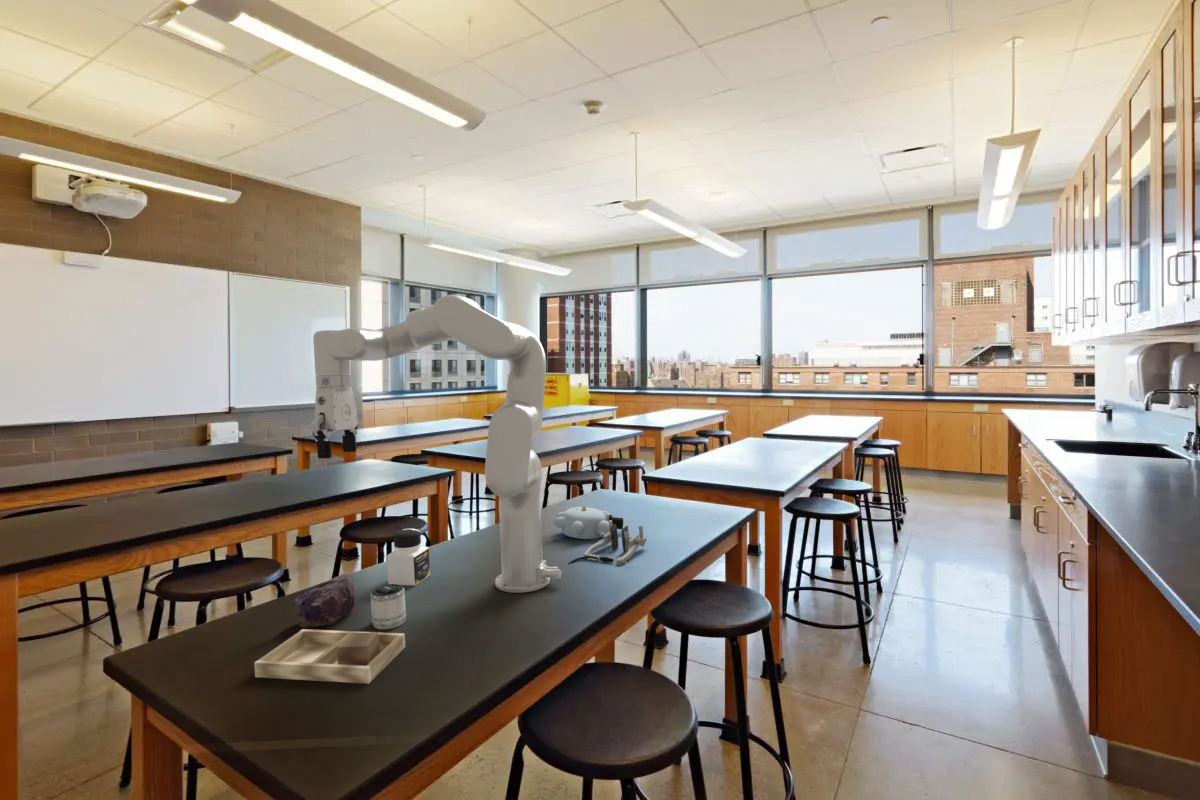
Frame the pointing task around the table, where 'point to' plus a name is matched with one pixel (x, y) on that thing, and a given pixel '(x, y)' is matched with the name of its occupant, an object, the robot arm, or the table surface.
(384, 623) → the camera lens
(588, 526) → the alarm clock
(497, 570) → the table surface
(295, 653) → the caddy
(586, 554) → the bike brake
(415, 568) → the medicine bottle
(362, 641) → the walnut block
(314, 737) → the table surface
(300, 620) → the rock
